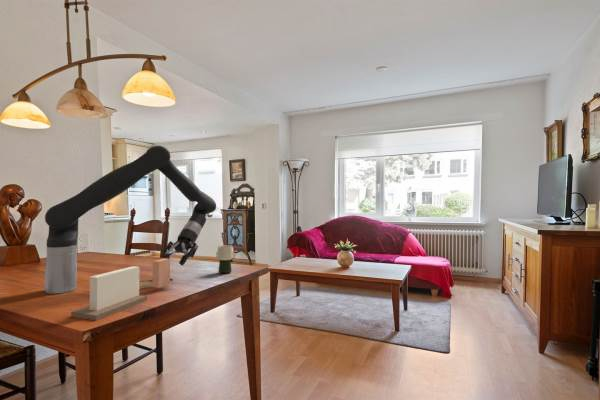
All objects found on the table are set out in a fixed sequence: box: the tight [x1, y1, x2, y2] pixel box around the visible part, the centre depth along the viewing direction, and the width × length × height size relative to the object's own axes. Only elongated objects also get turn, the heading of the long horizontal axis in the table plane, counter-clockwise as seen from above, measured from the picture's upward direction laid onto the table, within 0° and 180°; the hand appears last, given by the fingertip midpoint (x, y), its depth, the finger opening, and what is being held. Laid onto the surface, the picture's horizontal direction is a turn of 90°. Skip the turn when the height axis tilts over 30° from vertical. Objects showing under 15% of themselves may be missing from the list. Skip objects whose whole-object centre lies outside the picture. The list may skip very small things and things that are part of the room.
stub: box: [151, 257, 171, 289], centre depth 119 cm, size 3×6×10 cm, turn 163°
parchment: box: [139, 278, 174, 290], centre depth 125 cm, size 25×10×1 cm, turn 150°
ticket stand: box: [70, 265, 148, 322], centre depth 98 cm, size 10×19×12 cm, turn 163°
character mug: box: [215, 244, 235, 274], centre depth 148 cm, size 11×7×13 cm, turn 147°
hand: (172, 263), depth 125 cm, fingers open, 8 cm apart
